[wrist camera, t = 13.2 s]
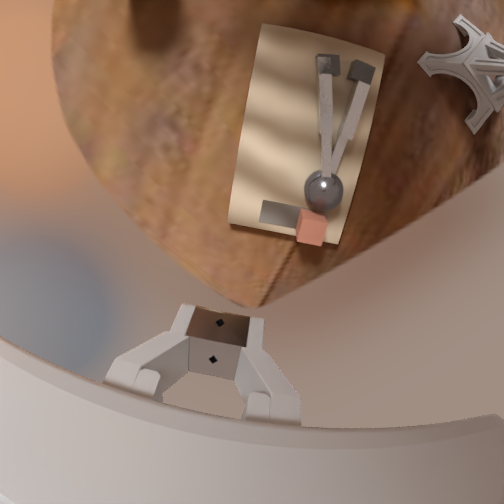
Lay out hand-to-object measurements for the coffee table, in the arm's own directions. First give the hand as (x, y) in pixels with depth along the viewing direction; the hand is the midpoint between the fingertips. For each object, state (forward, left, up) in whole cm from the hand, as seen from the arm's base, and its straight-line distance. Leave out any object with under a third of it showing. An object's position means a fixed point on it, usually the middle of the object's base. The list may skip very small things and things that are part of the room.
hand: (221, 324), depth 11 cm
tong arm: (-6, +6, -27) cm, 29 cm away
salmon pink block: (+5, +7, -27) cm, 29 cm away
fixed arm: (-6, +9, -27) cm, 29 cm away
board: (-5, +4, -29) cm, 30 cm away
